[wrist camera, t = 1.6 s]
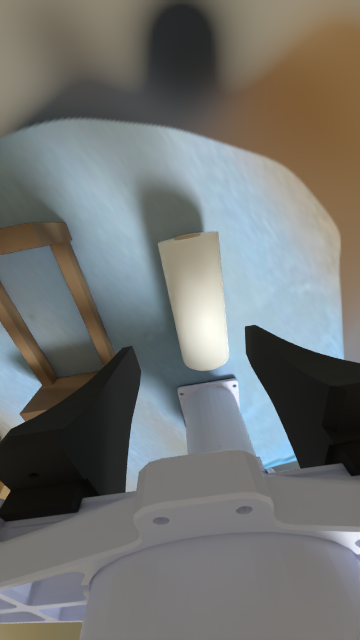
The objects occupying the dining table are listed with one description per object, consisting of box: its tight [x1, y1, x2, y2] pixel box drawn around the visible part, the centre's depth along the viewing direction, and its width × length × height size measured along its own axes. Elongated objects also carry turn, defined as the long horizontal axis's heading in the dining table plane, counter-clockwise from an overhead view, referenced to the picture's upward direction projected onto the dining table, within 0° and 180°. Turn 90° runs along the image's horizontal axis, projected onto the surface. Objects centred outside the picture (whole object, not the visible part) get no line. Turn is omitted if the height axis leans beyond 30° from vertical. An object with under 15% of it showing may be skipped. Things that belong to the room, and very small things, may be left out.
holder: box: [0, 222, 115, 422], centre depth 20 cm, size 18×10×5 cm, turn 10°
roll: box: [158, 231, 229, 371], centre depth 19 cm, size 12×5×5 cm, turn 10°
